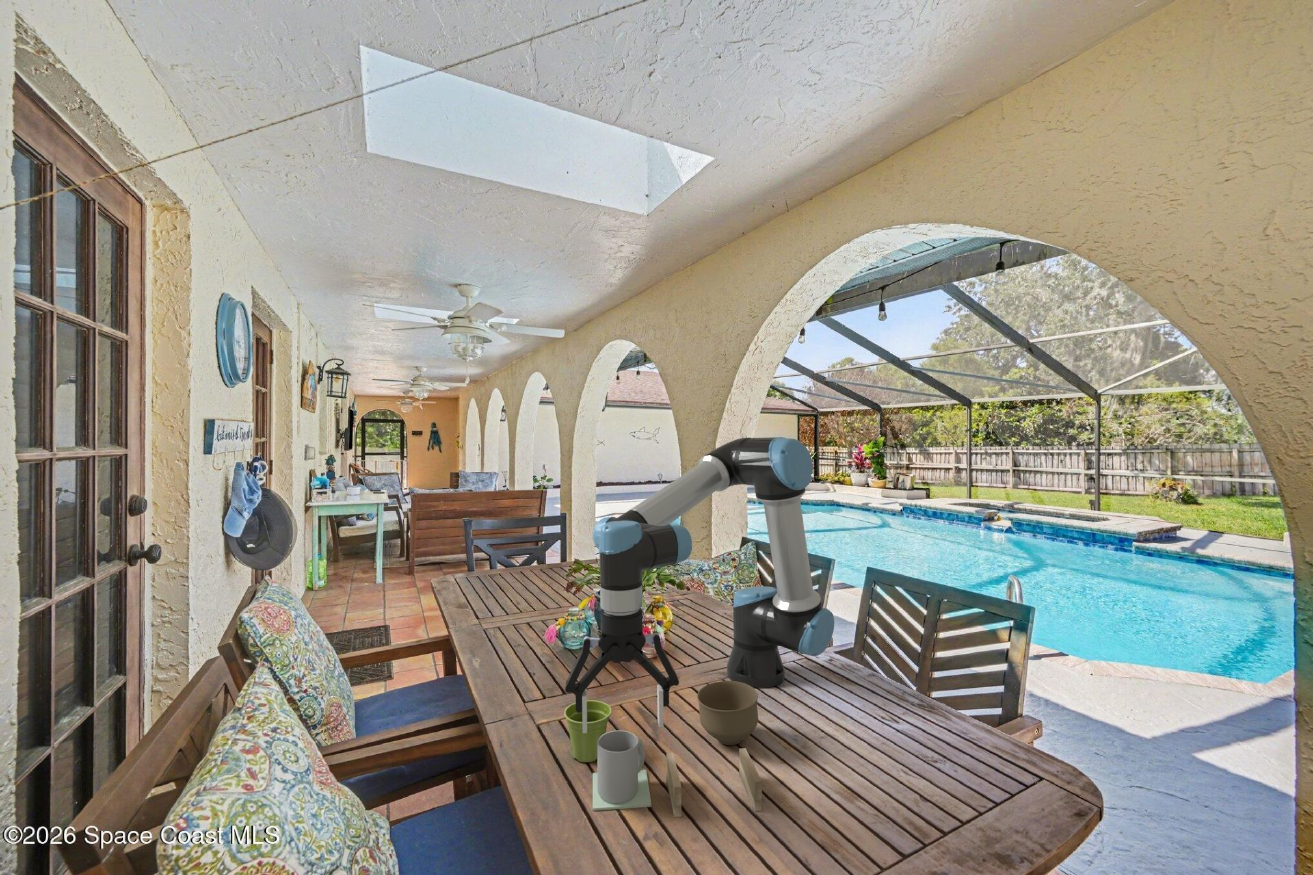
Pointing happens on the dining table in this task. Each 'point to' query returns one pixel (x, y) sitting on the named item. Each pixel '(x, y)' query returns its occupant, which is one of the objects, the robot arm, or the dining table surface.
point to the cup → (619, 765)
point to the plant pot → (596, 726)
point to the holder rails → (745, 772)
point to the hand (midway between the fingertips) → (623, 726)
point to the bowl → (728, 710)
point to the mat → (636, 802)
